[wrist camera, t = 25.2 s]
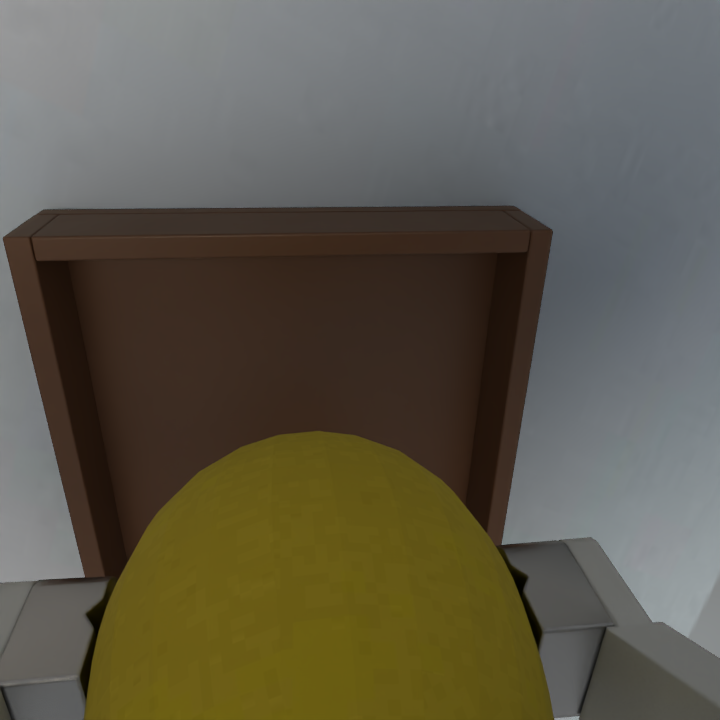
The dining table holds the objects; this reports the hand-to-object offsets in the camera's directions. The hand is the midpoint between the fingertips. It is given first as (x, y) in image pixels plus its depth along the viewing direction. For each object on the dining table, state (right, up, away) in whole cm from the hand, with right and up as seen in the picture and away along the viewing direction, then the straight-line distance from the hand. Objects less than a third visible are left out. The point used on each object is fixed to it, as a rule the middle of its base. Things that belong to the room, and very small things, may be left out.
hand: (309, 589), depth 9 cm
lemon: (0, +1, +3) cm, 3 cm away
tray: (-1, 0, +12) cm, 12 cm away
